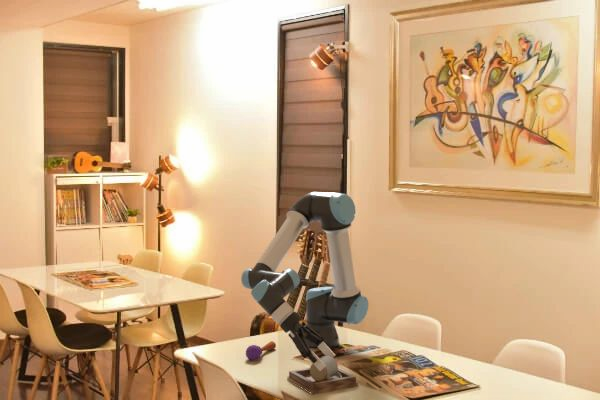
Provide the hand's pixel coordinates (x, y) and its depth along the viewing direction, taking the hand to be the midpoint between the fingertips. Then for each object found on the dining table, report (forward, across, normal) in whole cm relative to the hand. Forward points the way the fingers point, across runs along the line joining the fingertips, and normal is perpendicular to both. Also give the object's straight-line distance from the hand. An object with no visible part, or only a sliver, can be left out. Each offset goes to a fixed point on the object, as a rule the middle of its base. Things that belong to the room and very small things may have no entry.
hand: (328, 363), depth 287 cm
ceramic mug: (+4, 0, -5) cm, 6 cm away
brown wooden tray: (+4, 0, -7) cm, 8 cm away
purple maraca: (-18, -28, -30) cm, 45 cm away
